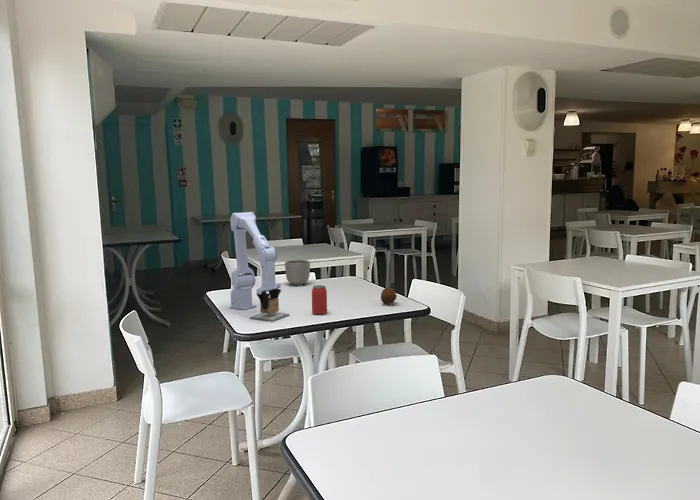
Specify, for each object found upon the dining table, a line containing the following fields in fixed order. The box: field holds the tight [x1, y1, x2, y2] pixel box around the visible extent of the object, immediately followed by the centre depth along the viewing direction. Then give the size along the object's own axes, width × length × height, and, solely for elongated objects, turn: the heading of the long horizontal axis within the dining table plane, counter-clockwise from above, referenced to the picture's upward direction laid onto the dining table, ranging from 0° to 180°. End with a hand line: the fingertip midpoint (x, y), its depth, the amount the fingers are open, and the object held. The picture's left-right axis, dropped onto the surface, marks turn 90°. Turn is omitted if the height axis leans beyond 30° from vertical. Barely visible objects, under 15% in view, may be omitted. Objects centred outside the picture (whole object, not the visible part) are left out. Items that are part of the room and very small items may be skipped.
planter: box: [284, 259, 311, 286], centre depth 304 cm, size 14×14×13 cm
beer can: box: [311, 284, 328, 316], centre depth 241 cm, size 7×7×12 cm
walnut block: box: [259, 296, 280, 314], centre depth 235 cm, size 6×6×6 cm
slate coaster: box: [249, 311, 290, 323], centre depth 236 cm, size 12×12×1 cm
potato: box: [380, 287, 397, 305], centre depth 257 cm, size 7×10×8 cm
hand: (269, 307), depth 236 cm, fingers closed on walnut block, 6 cm apart
